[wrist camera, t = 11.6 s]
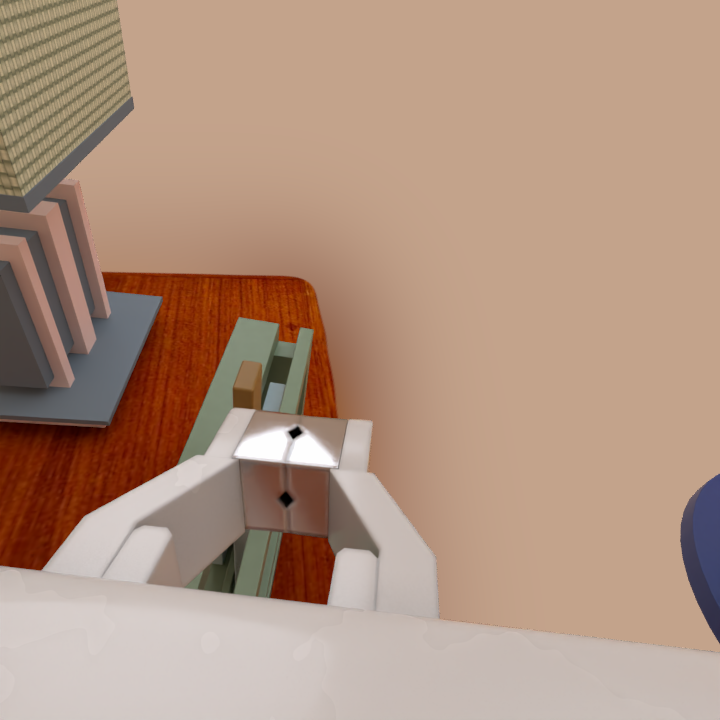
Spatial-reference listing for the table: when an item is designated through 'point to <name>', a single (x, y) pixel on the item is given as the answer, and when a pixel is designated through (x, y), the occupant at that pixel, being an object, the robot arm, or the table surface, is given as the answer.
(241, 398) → the window pane
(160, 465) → the table surface
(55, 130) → the desk lamp
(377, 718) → the robot arm
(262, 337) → the window frame
